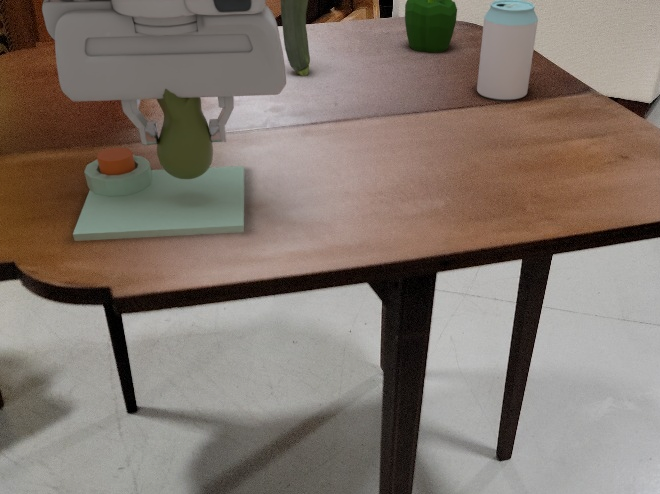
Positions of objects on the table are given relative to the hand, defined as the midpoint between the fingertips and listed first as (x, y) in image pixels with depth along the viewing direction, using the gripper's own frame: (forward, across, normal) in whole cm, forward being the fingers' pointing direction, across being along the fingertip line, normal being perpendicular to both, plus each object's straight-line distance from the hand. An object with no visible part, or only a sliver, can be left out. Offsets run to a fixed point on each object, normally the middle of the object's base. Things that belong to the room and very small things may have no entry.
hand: (185, 141), depth 71 cm
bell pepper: (+8, +35, +54) cm, 65 cm away
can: (+8, +41, +31) cm, 52 cm away
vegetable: (+8, +13, +43) cm, 45 cm away
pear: (+4, 0, 0) cm, 4 cm away
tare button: (+5, -8, +5) cm, 10 cm away
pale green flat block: (+7, -3, +1) cm, 8 cm away
